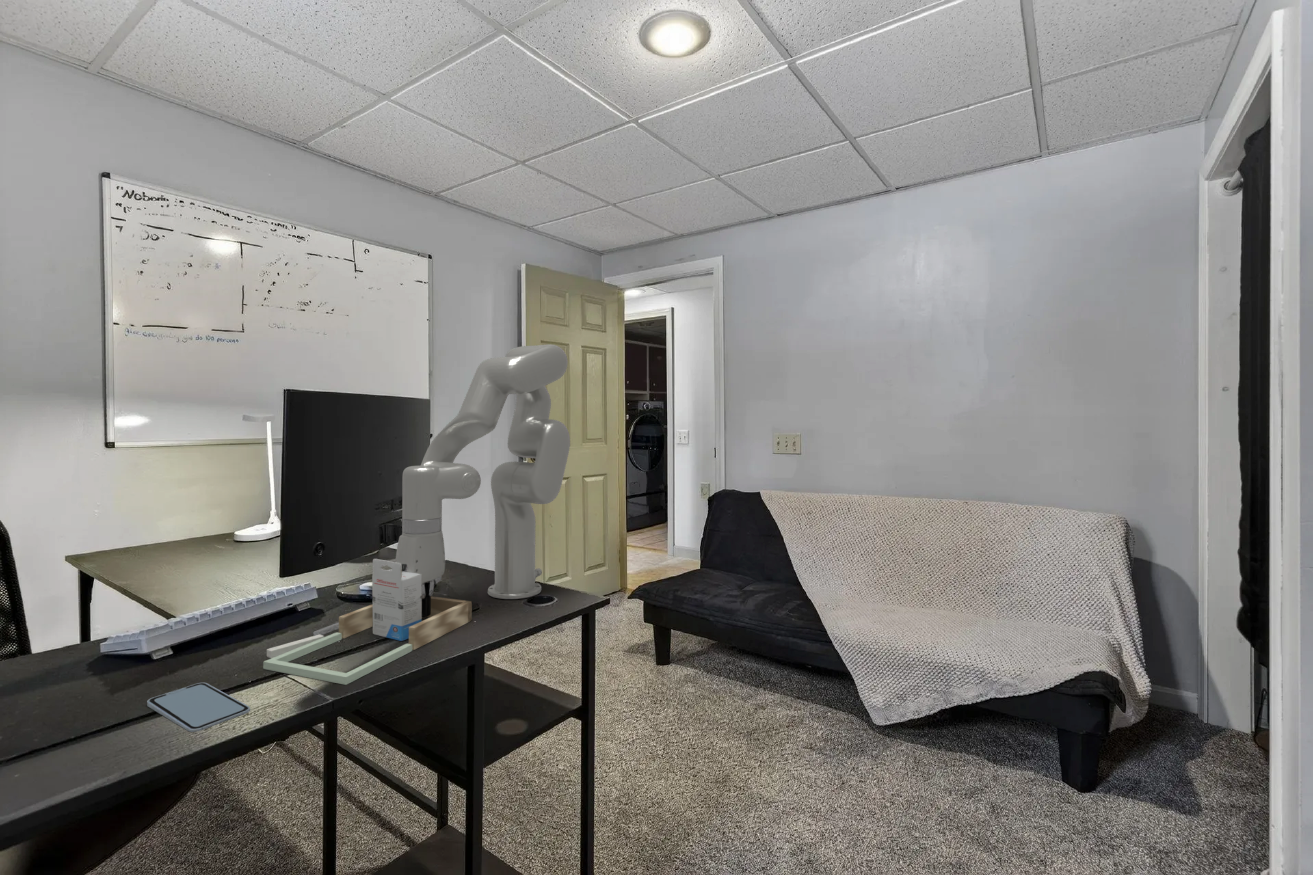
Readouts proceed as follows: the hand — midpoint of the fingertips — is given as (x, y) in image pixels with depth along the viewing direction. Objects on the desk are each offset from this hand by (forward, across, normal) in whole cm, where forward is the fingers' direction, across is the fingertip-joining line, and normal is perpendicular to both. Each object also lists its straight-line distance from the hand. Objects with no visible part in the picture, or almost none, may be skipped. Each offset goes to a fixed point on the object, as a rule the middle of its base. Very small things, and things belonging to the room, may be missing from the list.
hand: (421, 615), depth 122 cm
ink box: (+2, +7, 0) cm, 7 cm away
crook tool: (+2, +7, -11) cm, 14 cm away
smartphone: (+2, +40, -5) cm, 41 cm away
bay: (+2, +20, 0) cm, 20 cm away
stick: (+2, +19, -11) cm, 22 cm away
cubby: (+2, +4, 0) cm, 4 cm away
